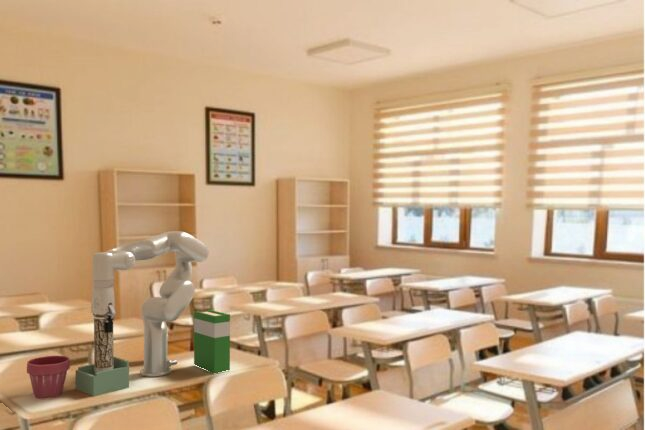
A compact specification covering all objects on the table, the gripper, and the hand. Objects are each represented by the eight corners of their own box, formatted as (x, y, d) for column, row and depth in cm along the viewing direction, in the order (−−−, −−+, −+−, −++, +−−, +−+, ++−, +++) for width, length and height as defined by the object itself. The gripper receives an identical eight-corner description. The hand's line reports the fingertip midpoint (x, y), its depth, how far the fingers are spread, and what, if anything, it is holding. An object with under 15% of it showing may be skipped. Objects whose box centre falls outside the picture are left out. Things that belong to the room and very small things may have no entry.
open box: (110, 380, 215) (110, 355, 215) (129, 387, 206) (129, 361, 206) (75, 388, 204) (75, 362, 204) (93, 396, 195) (93, 368, 195)
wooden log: (106, 384, 201) (106, 317, 202) (90, 383, 203) (90, 317, 203) (117, 379, 208) (116, 314, 208) (101, 378, 210) (101, 314, 210)
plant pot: (76, 394, 197) (76, 359, 197) (35, 404, 187) (36, 366, 187) (60, 386, 207) (60, 353, 207) (20, 395, 196) (20, 360, 197)
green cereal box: (194, 365, 238) (194, 311, 238) (208, 363, 243) (209, 309, 243) (214, 374, 225) (214, 316, 225) (229, 370, 229) (229, 314, 230)
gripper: (82, 283, 208) (83, 330, 208) (105, 287, 197) (105, 335, 197) (101, 282, 214) (101, 326, 214) (124, 285, 203) (124, 332, 203)
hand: (103, 330), depth 206 cm, fingers closed on wooden log, 6 cm apart
